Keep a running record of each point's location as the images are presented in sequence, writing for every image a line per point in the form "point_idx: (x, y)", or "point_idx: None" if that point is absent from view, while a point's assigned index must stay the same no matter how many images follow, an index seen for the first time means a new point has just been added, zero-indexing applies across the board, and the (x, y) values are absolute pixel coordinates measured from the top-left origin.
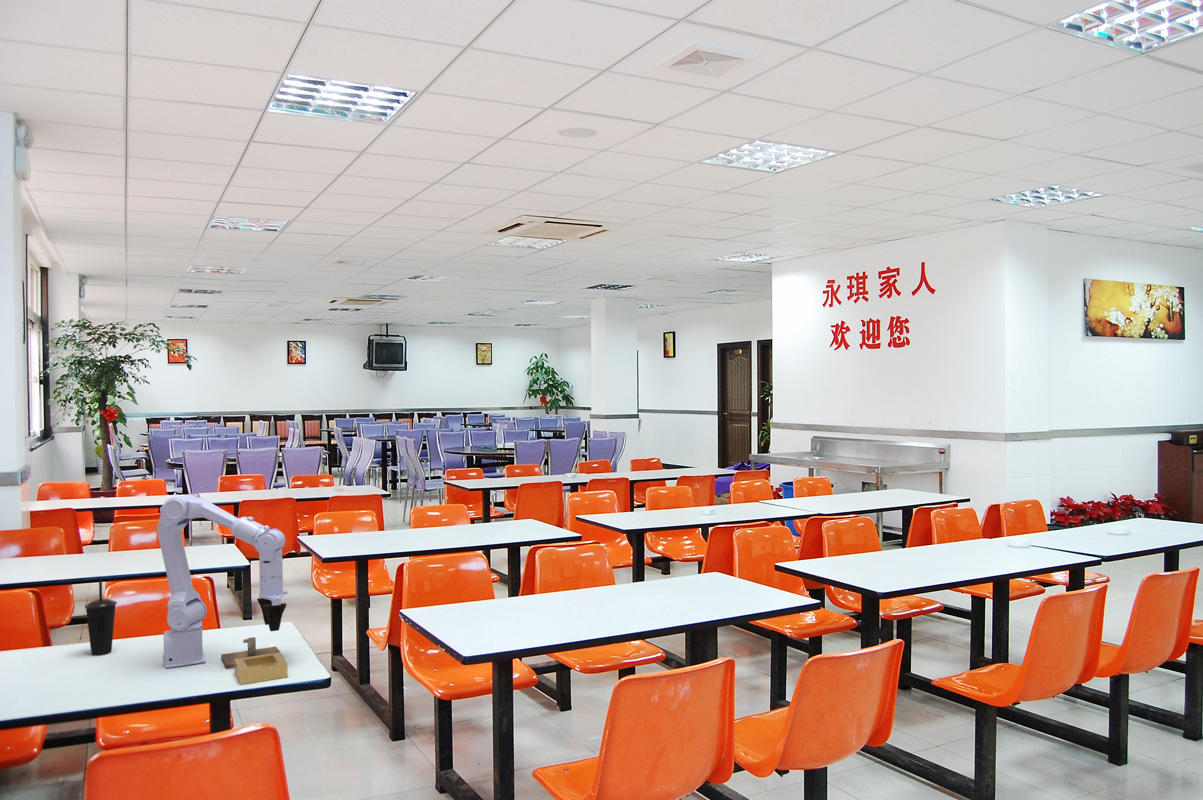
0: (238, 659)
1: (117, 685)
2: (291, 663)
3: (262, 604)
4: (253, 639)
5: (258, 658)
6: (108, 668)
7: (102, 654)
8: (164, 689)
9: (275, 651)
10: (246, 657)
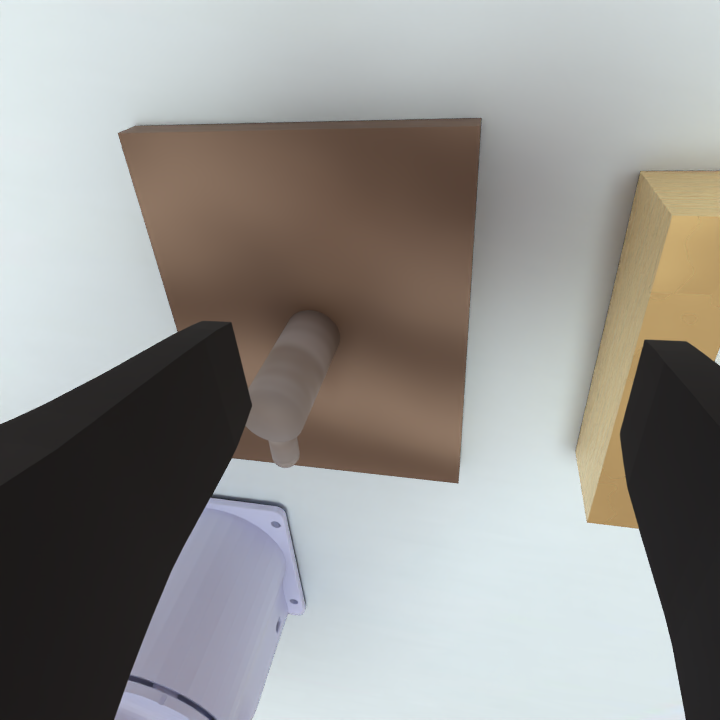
0: (623, 509)
1: (437, 712)
2: (647, 52)
3: (97, 716)
4: (301, 407)
5: None
6: None
7: None
8: (614, 668)
9: (274, 162)
10: (613, 465)
